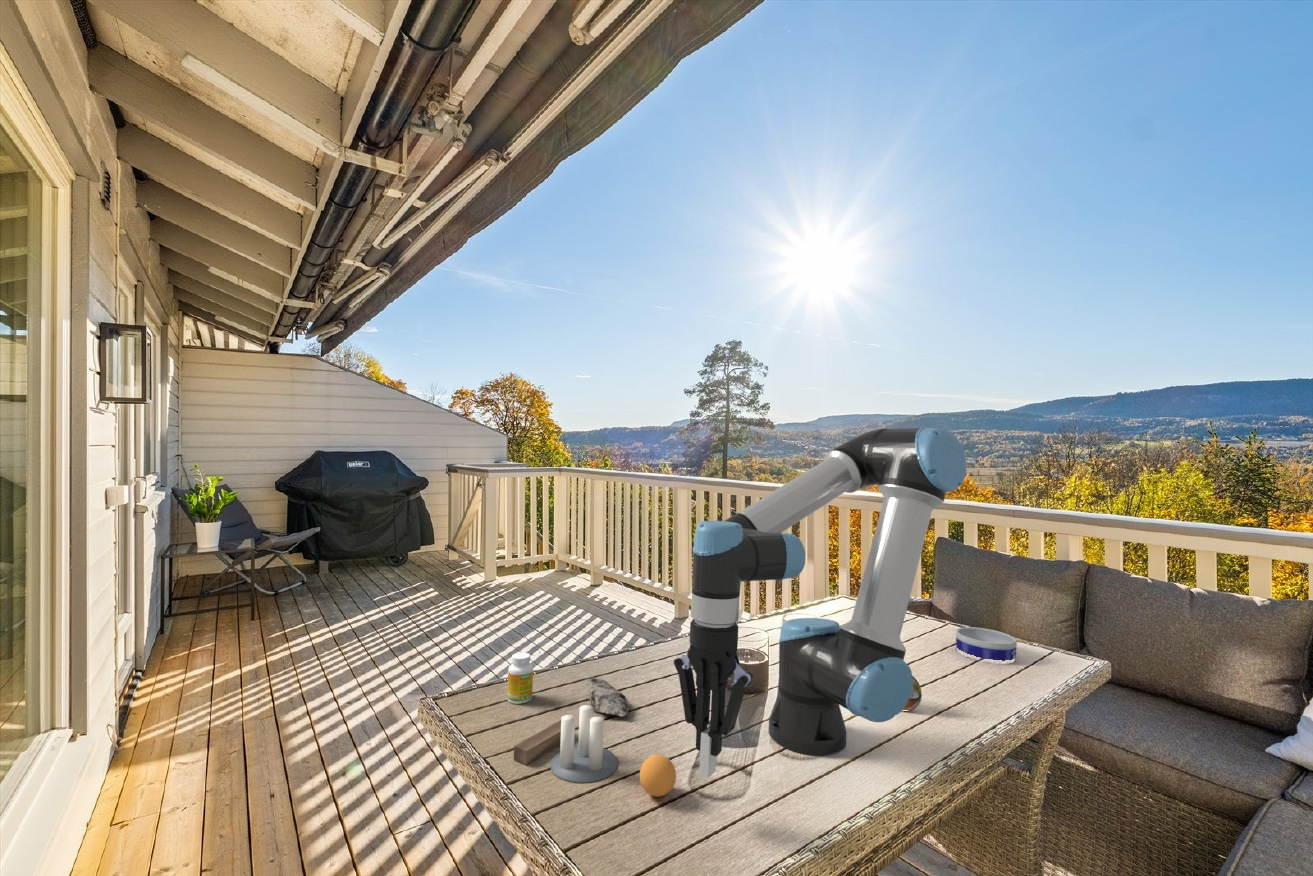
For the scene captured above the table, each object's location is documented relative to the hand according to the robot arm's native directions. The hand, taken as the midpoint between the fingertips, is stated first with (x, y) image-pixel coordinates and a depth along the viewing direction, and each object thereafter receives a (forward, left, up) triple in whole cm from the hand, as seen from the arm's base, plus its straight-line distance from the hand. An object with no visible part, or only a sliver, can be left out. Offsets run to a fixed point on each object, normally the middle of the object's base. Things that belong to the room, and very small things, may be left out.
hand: (707, 773), depth 91 cm
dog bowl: (-32, -113, -7) cm, 118 cm away
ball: (+9, 0, -4) cm, 10 cm away
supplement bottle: (+53, -12, -7) cm, 55 cm away
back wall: (+34, 0, -7) cm, 35 cm away
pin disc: (+25, 0, -7) cm, 26 cm away
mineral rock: (+36, -21, -7) cm, 42 cm away
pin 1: (+27, +2, -7) cm, 28 cm away
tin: (-15, -59, -7) cm, 62 cm away
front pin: (+22, 0, -7) cm, 23 cm away
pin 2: (+27, -3, -7) cm, 28 cm away
